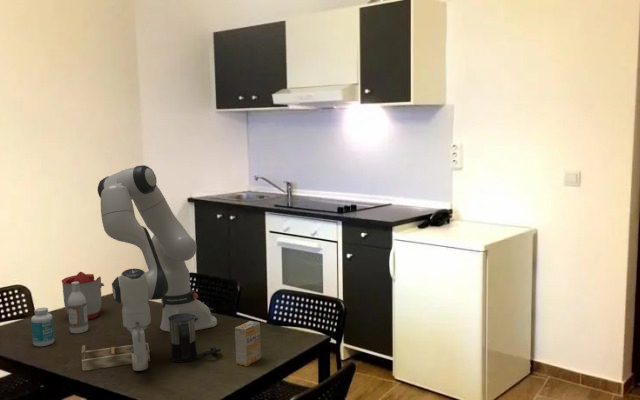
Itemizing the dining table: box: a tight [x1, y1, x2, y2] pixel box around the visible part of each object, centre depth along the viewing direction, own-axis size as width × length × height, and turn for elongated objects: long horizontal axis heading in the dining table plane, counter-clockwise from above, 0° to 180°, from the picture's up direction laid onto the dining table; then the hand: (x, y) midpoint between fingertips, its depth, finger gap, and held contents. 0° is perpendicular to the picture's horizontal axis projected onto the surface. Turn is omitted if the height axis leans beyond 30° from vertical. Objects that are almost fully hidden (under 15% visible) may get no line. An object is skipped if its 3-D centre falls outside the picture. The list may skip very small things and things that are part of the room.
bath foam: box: [67, 282, 89, 334], centre depth 247 cm, size 7×7×20 cm
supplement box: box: [234, 320, 262, 367], centre depth 211 cm, size 8×5×13 cm, turn 148°
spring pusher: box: [110, 346, 115, 356], centre depth 215 cm, size 1×6×3 cm, turn 19°
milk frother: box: [168, 313, 221, 363], centre depth 216 cm, size 14×16×15 cm
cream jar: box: [131, 346, 149, 372], centre depth 206 cm, size 5×5×7 cm
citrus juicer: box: [61, 271, 105, 320], centre depth 265 cm, size 16×17×20 cm
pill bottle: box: [30, 307, 55, 347], centre depth 234 cm, size 8×7×14 cm
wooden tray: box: [80, 342, 151, 372], centre depth 215 cm, size 22×9×6 cm, turn 108°
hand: (139, 358), depth 206 cm, fingers closed on cream jar, 5 cm apart
